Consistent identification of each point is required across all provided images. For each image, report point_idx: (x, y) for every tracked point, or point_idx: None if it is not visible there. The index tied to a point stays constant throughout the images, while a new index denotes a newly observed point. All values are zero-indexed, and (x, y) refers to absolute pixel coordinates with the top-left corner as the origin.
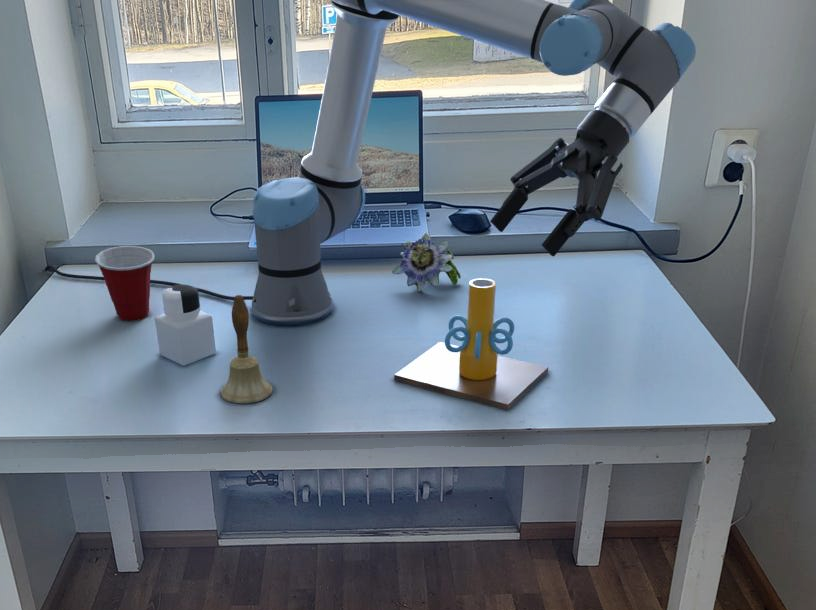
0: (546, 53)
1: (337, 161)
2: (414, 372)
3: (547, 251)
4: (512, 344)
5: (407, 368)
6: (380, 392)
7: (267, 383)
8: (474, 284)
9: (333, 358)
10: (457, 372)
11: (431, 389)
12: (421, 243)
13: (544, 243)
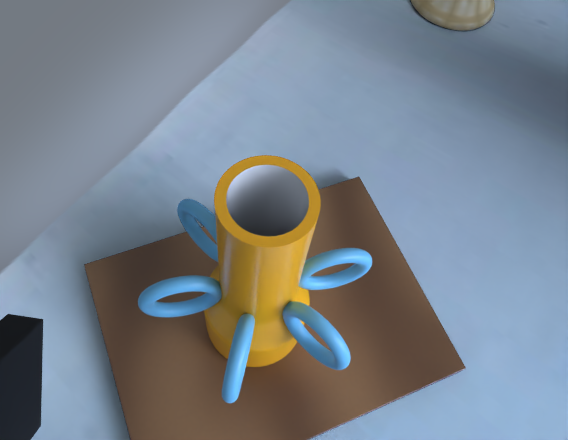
0: None
1: None
2: (344, 212)
3: (39, 387)
4: (138, 305)
5: (370, 213)
6: (326, 137)
7: (446, 11)
8: (306, 203)
9: (513, 156)
10: None
11: None
12: None
13: (18, 326)
